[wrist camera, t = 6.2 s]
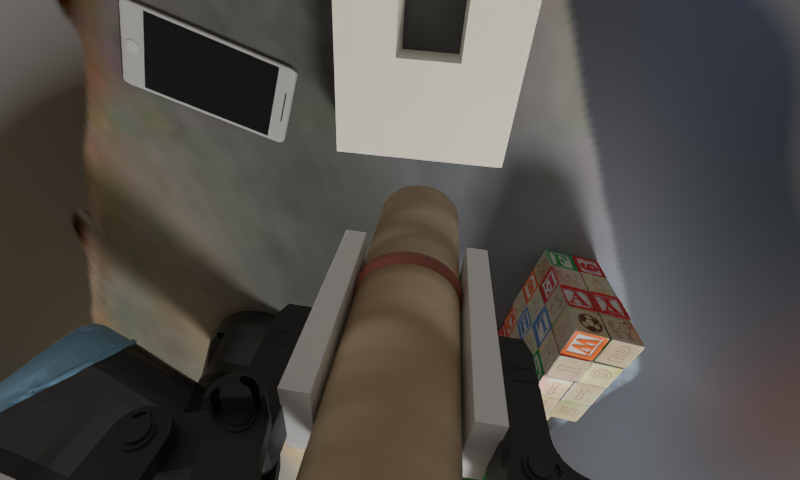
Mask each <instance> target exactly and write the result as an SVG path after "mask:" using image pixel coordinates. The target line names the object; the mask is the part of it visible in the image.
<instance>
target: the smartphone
mask: <svg viewBox="0 0 800 480" xmlns="http://www.w3.org/2000/svg"><path fill="white" fill-rule="evenodd" d="M119 11H120V28H121V45H122V62H123V78H124V80H125V81H126V82H128V83H129V84H131V85H134V86H137V87H139V88H142V89H144V90H147V91H149V92H152V93H154V94H157V95H159V96H162V97H165V98H167V99H170V100H172V101H175V102H177V103H180V104H182V105H185V106H187V107H190V108H193V109H195V110H198V111H200V112H203V113H205V114H208V115H210V116H213V117H215V118H218V119H220V120H223V121H226V122H228V123H231V124H233V125H236V126H238V127H241V128H243V129H246V130H248V131H251V132H254V133H256V134H259V135H261V136H264V137H266V138H269V139H271V140H274V141H277V142H283V141H284V140H285V135H286V130H287V125H288V120H289V115H290V110H291V105H292V100H293V95H294V90H295V85H296V80H297V75H298V73H297V72H296V70H294V69H293V68H291V67H288V66H286V65H284V64H281V63H279V62H276V61H274V60H272V59H269V58H267V57H265V56H262V55H260V54H257V53H255V52H253V51H250V50H248V49H246V48H243V47H241V46H238V45H236V44H234V43H231V42H229V41H227V40H224V39H222V38H219V37H217V36H215V35H212V34H210V33H208V32H205V31H203V30H200V29H198V28H196V27H193V26H191V25H189V24H186V23H184V22H181V21H179V20H177V19H174V18H172V17H170V16H167V15H165V14H162V13H160V12H158V11H155V10H153V9H151V8H148V7H146V6H143V5H141V4H139V3H136V2H134V1H132V0H119Z"/></svg>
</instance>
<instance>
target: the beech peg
mask: <svg viewBox="0 0 800 480" xmlns="http://www.w3.org/2000/svg"><path fill="white" fill-rule="evenodd" d="M462 304H463V293H462V287H461V284H460V282H459V230H458V213H457V210H456V207H455V205H454V204H453V202H452V201H451V200H450V199H449V198H448V197H447V196H446V195H445V194H444V193H442V192H441V191H439V190H437V189H434V188H431V187H427V186H419V185H418V186H408V187H405V188H402V189H400V190H398V191H396V192H395V193H393V194H392V195H391V196H390V197H389V198H388V199H387V201H386V202H385V204H384V206H383V209H382V212H381V215H380V218H379V221H378V224H377V227H376V231H375V234H374V237H373V240H372V243H371V246H370V249H369V252H368V256H367V259H366V262H365V265H364V267H363V269H362V270H361V271H360V273H359V275H358V278H357V281H356V284H355V287H354V300H353V303H352V306H351V309H350V312H349V315H348V318H347V321H346V325H345V328H344V331H343V334H342V337H341V340H340V343H339V347H338V350H337V353H336V356H335V359H334V362H333V365H332V369H331V372H330V375H329V378H328V381H327V384H326V387H325V390H324V394H323V397H322V400H321V403H320V406H319V409H318V412H317V416H316V419H315V422H314V425H313V428H312V431H311V434H310V438H309V441H308V444H307V447H306V450H305V453H304V456H303V459H302V463H301V466H300V469H299V472H298V475H297V478H296V480H463V468H462V409H461V349H460V312H461V308H462Z"/></svg>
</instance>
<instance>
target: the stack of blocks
mask: <svg viewBox="0 0 800 480" xmlns="http://www.w3.org/2000/svg"><path fill="white" fill-rule="evenodd" d="M630 320H631V319H630V317H629V315H628V313H627V312H626V310H625V308H624V307H623V305H622V303H621V302H620V300H619V298H617V296H616V294H615V292H614V291H613V289H612V287H611V286H610V284H609V282H608V280H607V278H606V276H605V274H604V273H603V271H602V269H601V267H600V265H599V264H598V262H596V261H592V260H588V259H584V258H580V257H576V256H571V255H567V254H563V253H559V252H555V251H551V250H547V249H545V251H544V252H543V254H542V256H541V258H540V259H539V261H538V263H537V264H536V266H535V268H534V269H533V270H532V272H531V274H530V275H529V277H528V279H527V281H526V282H525V284H524V286H523V288H522V289H521V291H520V293H519V294H518V296H517V298H516V300H515V301H514V303H513V307H512V308H511V311H510V312H509V314H508V316H507V317H506V319H505V321H504V324H503V325H502V327H501V329H500V331H499V332H498V336H504V337H511V338H517V339H523V340H524V342H525V343H526V345H527V346H528V348H529V349H530V351H531V352H532V354H533V357H534V362H535V367H536V374H537V376H538V381H539V387H540V390H541V395H542V400H543V405H544V409H545V414H546V419H547V420H548V419H549V418H550V417H551V416H552V417H557V418H561V419H565V420H569V421H574V422H576V421H577V420H578V419H579V418H580V417H581V415H583V414H584V412H585V411H586V410H587V409H588V408H589V407H590V405H591V404H592V403H593V402H594V401H595V400H596V399H597V398H598V396H599V395H600V394H601V393H602V392H603V391H604V389H605V388H607V387H608V386H609V385H610V384H611V383H612V382H613V381H614V380H615V379H616V377H617V376H618V375H619V374H620V373H621V372H622V371H623V370H624V368H626V367H627V366H628V365H629V364H630V363H631V362H632V361H633V360H634V359H635V358H636V357H637V356H638V355H639V354H640V353H641V352H642V351H643V350H644V348H645V346H644V344H643V342H642V341H641V339H640V337H639V335H638V334H637V332H636V330H635V329H634V327H633V325H632V323H631V322H630Z"/></svg>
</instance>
